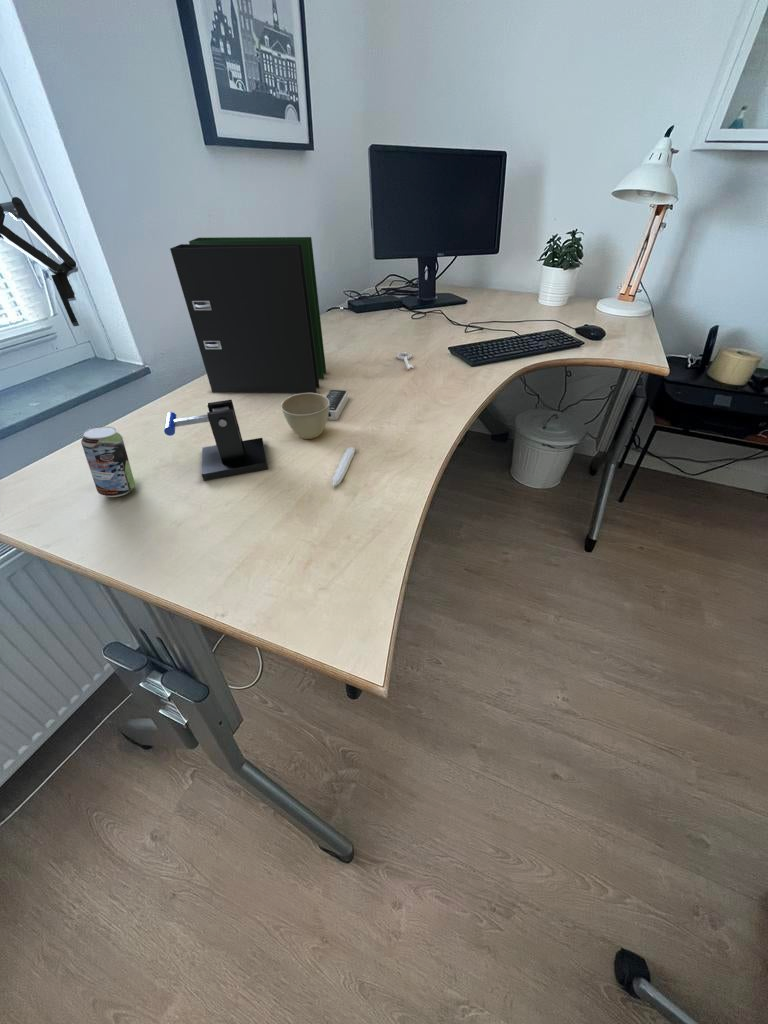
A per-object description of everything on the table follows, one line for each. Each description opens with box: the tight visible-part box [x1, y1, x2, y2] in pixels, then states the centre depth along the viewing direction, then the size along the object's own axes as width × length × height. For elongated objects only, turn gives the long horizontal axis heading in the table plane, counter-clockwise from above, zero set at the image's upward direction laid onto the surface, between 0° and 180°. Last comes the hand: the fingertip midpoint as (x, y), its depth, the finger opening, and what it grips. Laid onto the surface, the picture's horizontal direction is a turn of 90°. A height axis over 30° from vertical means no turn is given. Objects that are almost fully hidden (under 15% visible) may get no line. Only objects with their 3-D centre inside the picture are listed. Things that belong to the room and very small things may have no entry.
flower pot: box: [280, 392, 330, 440], centre depth 92 cm, size 10×10×7 cm
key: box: [396, 351, 414, 371], centre depth 124 cm, size 12×1×4 cm
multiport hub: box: [325, 389, 349, 421], centre depth 102 cm, size 4×11×2 cm, turn 169°
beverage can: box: [81, 426, 136, 498], centre depth 76 cm, size 6×7×12 cm
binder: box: [169, 236, 327, 394], centre depth 105 cm, size 27×15×32 cm, turn 84°
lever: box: [163, 406, 229, 437], centre depth 79 cm, size 11×6×2 cm, turn 107°
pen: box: [332, 446, 356, 487], centre depth 83 cm, size 2×14×2 cm, turn 169°
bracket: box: [201, 399, 269, 482], centre depth 83 cm, size 12×10×12 cm
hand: (22, 332), depth 63 cm, fingers open, 13 cm apart
